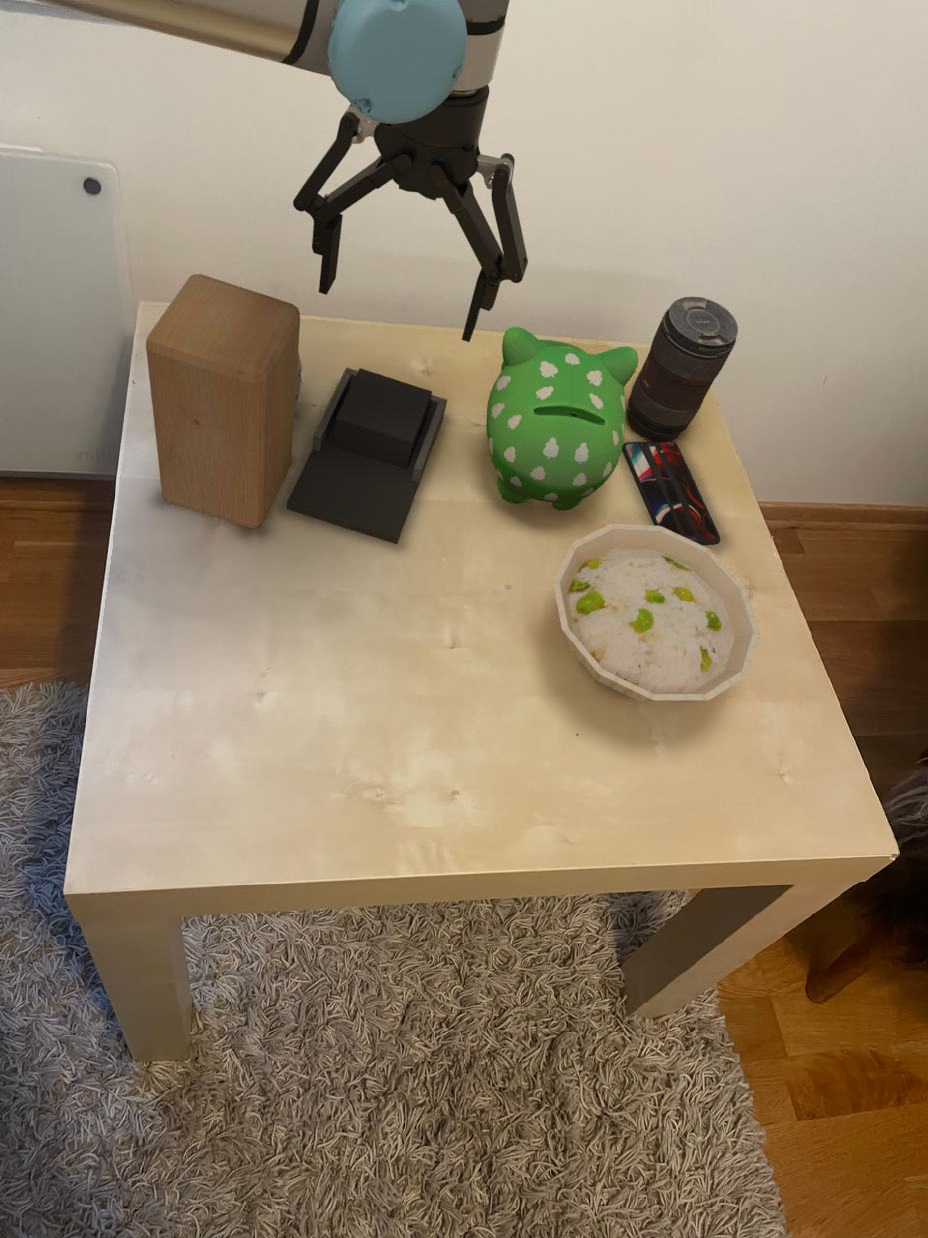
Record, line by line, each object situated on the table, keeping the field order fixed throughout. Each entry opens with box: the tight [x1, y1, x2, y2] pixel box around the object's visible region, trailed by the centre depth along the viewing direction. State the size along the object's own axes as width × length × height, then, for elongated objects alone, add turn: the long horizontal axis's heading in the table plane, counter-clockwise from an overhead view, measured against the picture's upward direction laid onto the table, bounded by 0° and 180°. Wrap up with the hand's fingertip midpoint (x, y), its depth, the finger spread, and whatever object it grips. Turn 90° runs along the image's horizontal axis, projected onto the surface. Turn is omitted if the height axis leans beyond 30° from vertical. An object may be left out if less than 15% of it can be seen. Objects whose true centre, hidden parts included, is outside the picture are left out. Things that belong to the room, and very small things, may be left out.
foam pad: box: [333, 367, 433, 469], centre depth 96 cm, size 8×8×4 cm
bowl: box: [552, 523, 761, 703], centre depth 85 cm, size 19×19×10 cm
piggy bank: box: [485, 326, 639, 511], centre depth 95 cm, size 14×18×15 cm
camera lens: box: [626, 296, 739, 442], centre depth 103 cm, size 8×8×15 cm
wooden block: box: [145, 273, 301, 529], centre depth 83 cm, size 10×10×20 cm
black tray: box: [286, 367, 448, 544], centre depth 96 cm, size 19×11×3 cm, turn 166°
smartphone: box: [621, 440, 721, 546], centre depth 103 cm, size 7×1×15 cm
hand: (398, 309), depth 85 cm, fingers open, 13 cm apart
